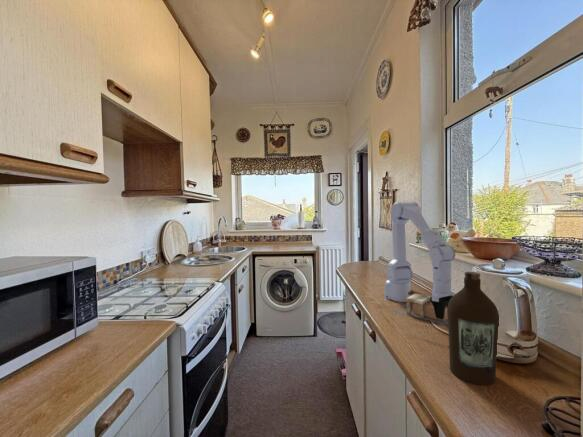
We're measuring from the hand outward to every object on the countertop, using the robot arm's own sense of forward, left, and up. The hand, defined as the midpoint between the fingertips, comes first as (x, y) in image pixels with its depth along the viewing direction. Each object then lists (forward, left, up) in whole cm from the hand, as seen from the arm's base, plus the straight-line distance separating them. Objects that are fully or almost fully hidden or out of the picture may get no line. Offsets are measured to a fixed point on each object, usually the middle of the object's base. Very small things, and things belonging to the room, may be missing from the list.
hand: (441, 316), depth 99 cm
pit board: (-6, 0, -2) cm, 6 cm away
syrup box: (-27, +29, -2) cm, 39 cm away
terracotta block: (-4, 0, -1) cm, 4 cm away
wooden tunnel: (-8, 0, -1) cm, 8 cm away
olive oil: (+15, -29, -2) cm, 33 cm away
